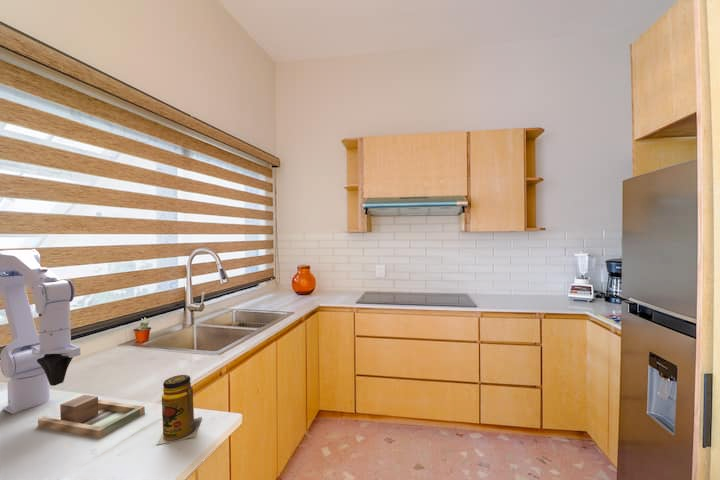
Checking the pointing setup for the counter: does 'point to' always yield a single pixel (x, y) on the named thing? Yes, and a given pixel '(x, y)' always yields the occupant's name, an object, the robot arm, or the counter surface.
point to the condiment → (178, 410)
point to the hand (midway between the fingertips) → (56, 383)
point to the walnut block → (79, 408)
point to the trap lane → (97, 419)
